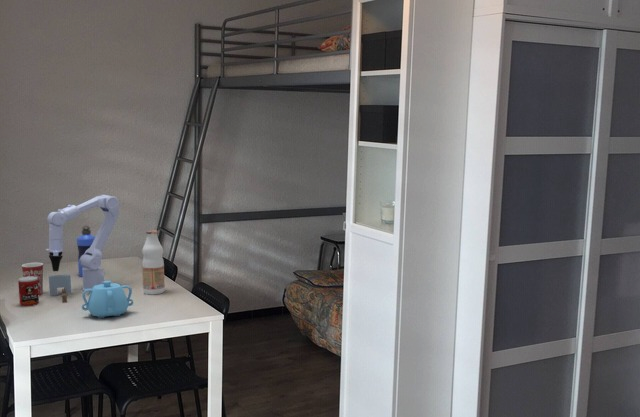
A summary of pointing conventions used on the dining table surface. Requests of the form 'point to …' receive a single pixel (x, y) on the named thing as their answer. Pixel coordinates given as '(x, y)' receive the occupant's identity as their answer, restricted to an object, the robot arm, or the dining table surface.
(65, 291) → the rail
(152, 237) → the fruit juice
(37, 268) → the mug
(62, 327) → the dining table surface
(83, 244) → the water bottle
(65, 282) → the slim blue-grey slab
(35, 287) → the canned food
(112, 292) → the decorative pot
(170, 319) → the dining table surface
